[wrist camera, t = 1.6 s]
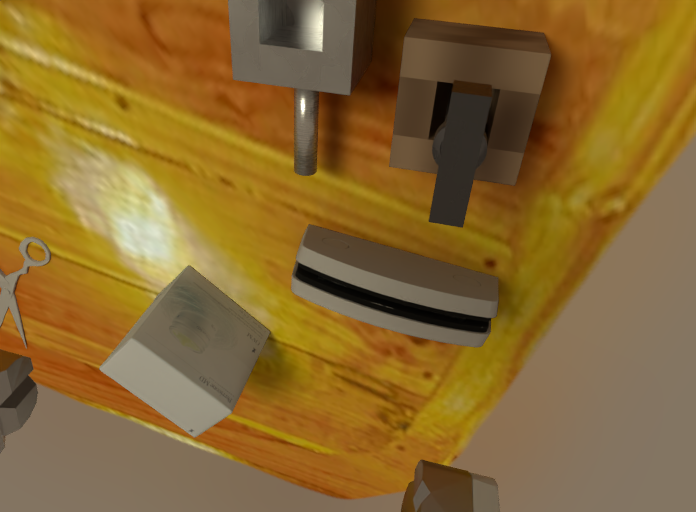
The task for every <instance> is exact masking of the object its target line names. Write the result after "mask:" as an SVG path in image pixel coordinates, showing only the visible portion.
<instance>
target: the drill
mask: <svg viewBox="0 0 696 512" xmlns="http://www.w3.org/2000/svg"><path fill="white" fill-rule="evenodd" d="M376 2H377V0H228V5H229V21H230V36H231V52H232V68H233V80H240V81H247V82H254V83H262V84H269V85H277V86H284V87H291V88H294V172H295V173H297V174H299V175H303V176H309V175H313V174H315V173H316V172H317V147H318V114H319V91H321V92H328V93H336V94H343V95H351V93H352V91H353V90H354V88H355V87H356V85H357V84H358V82H359V80H360V79H361V77H362V76H363V74H364V73H365V71H366V69H367V68H368V66H369V65H370V63H371V61H372V49H373V37H374V26H375V14H376Z"/></svg>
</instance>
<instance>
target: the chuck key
mask: <svg viewBox="0 0 696 512" xmlns="http://www.w3.org/2000/svg"><path fill="white" fill-rule="evenodd" d="M491 99H492V85H489V84H481V83H474V82H466V81H458V80H454V82H453V86H452V87H451V89H450V94H449V99H448V105H447V111H446V116H445V122H444V123H443V124H441V126H440V127H439V128H438V129H437V131H436V133H435V136H434V140H433V145H432V154H433V158H434V160H435V162H436V163H437V165H438V172H437V178H436V183H435V189H434V195H433V200H432V206H431V212H430V217H429V222H433V223H439V224H445V225H451V226H457V227H463V224H464V220H465V215H466V211H467V206H468V202H469V197H470V193H471V188H472V184H473V179H474V175H475V170H476V169H477V168H478V167H479V166H480V165H481V164H482V163H483V161H484V159H485V157H486V154H487V135H486V132H485V126H486V121H487V117H488V112H489V108H490V103H491Z"/></svg>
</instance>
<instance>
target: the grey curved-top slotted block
mask: <svg viewBox="0 0 696 512" xmlns="http://www.w3.org/2000/svg"><path fill="white" fill-rule="evenodd" d="M291 290H292V292H293V293H295V294H296V295H298V296H300V297H302V298H304V299H307V300H309V301H311V302H313V303H315V304H318V305H320V306H322V307H325V308H327V309H330V310H332V311H335V312H337V313H340V314H343V315H346V316H348V317H351V318H354V319H357V320H360V321H362V322H366V323H369V324H372V325H375V326H378V327H382V328H385V329H389V330H392V331H396V332H400V333H403V334H407V335H411V336H416V337H420V338H425V339H429V340H434V341H439V342H444V343H450V344H456V345H463V346H471V347H481V346H482V345H483V344H484V342H485V340H486V339H487V337H488V335H489V334H490V332H491V318H494V317H496V316H497V309H498V300H499V298H498V277H495V276H491V275H487V274H484V273H480V272H477V271H473V270H470V269H466V268H463V267H459V266H456V265H452V264H449V263H445V262H441V261H438V260H434V259H431V258H427V257H424V256H420V255H417V254H413V253H410V252H406V251H403V250H399V249H395V248H392V247H388V246H385V245H381V244H378V243H374V242H371V241H367V240H364V239H360V238H357V237H353V236H349V235H346V234H342V233H339V232H335V231H332V230H328V229H325V228H321V227H318V226H314V225H311V224H309V225H308V227H307V229H306V231H305V233H304V235H303V238H302V241H301V244H300V247H299V250H298V253H297V256H296V263H295V266H294V270H293V273H292V287H291Z"/></svg>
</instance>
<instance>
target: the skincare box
mask: <svg viewBox="0 0 696 512" xmlns="http://www.w3.org/2000/svg"><path fill="white" fill-rule="evenodd" d="M269 334H270V331H269V330H268V329H266V328H265V327H264V326H263V325H262V324H260V323H259V322H258V321H257V320H255V319H254V318H253V317H252V316H251V315H249V314H248V313H247V312H246V311H244V310H243V309H242V308H241V307H240V306H238V305H237V304H236V303H235V302H233V301H232V300H231V299H230V298H229V297H227V296H226V295H225V294H224V293H223V292H221V291H220V290H219V289H218V288H216V287H215V286H214V285H213V284H212V283H210V282H209V281H208V280H207V279H205V278H204V277H203V276H202V275H201V274H199V273H198V272H197V271H196V270H195V269H193V268H192V267H191V266H187V267H186V268H185V269H184V270H183V271H182V272H181V273H180V274H179V275H178V276H177V277H176V278H175V279H174V280H173V281H172V282H171V283H170V284H169V285H168V286H167V287H166V288H165V289H164V290H162V291H161V292H160V293H159V294H158V295H157V297H156V298H155V300H154V302H153V303H152V304H151V305H150V306H149V308H148V309H147V310H146V311H145V312H144V314H143V315H142V316H141V317H140V319H139V320H138V321H137V322H136V324H135V325H134V326H133V327H132V329H131V330H130V331H129V332H128V334H127V335H126V336H125V337H124V339H123V340H122V341H121V342H120V344H119V345H118V346H117V347H116V348H115V350H114V351H113V352H112V353H111V355H110V356H109V357H108V358H107V359H106V361H105V362H104V363H103V364H102V365H101V366H100V368H99V369H100V370H101V371H102V372H103V373H105V374H106V375H108V376H109V377H110V378H112V379H113V380H115V381H116V382H117V383H119V384H120V385H122V386H123V387H124V388H126V389H127V390H129V391H130V392H131V393H133V394H134V395H136V396H137V397H138V398H140V399H141V400H143V401H144V402H145V403H147V404H148V405H150V406H151V407H152V408H154V409H155V410H157V411H158V412H159V413H161V414H162V415H164V416H165V417H166V418H168V419H169V420H171V421H172V422H173V423H175V424H176V425H178V426H179V427H180V428H182V429H183V430H185V431H186V432H187V433H189V434H190V435H192V436H193V437H197V436H198V435H200V434H201V433H203V432H204V431H206V430H207V429H209V428H210V427H212V426H213V425H215V424H216V423H218V422H219V421H221V420H222V419H224V418H225V417H227V416H228V415H229V414H231V413H232V411H233V409H234V407H235V405H236V403H237V401H238V399H239V397H240V395H241V392H242V390H243V388H244V386H245V384H246V382H247V380H248V378H249V376H250V374H251V372H252V369H253V367H254V365H255V363H256V361H257V359H258V357H259V355H260V353H261V351H262V349H263V347H264V344H265V342H266V340H267V338H268V336H269Z"/></svg>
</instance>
